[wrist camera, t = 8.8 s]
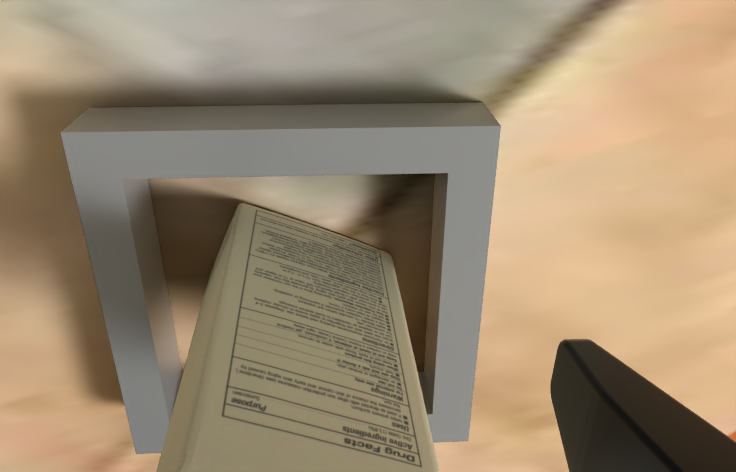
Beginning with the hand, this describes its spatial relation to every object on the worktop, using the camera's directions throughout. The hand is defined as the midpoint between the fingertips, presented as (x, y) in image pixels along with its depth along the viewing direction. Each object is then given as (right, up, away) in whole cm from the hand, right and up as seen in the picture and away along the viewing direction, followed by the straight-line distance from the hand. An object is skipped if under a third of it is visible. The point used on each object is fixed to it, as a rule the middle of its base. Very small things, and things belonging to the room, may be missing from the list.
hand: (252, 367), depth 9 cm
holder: (-1, +1, +15) cm, 15 cm away
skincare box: (-1, +1, +15) cm, 15 cm away
